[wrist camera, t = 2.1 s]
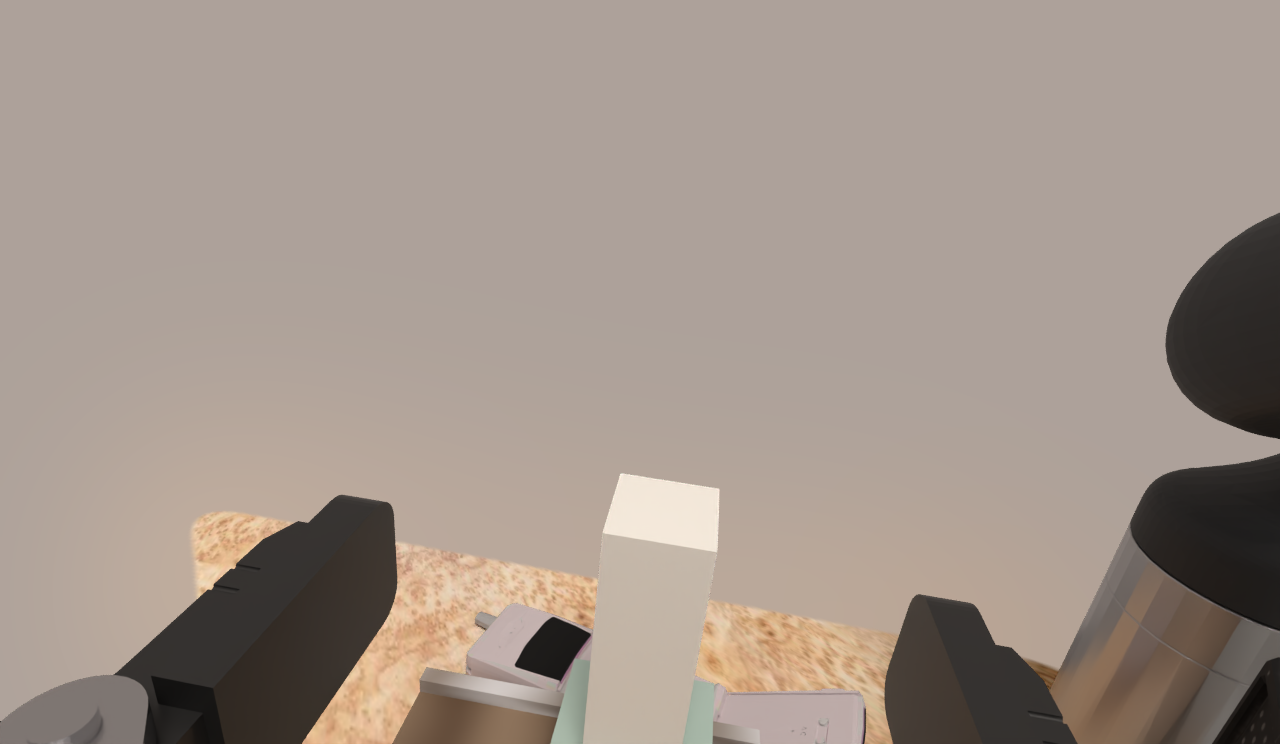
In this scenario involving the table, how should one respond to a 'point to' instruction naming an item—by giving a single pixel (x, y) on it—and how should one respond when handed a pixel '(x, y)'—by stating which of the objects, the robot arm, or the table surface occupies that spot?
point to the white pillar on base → (647, 621)
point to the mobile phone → (788, 720)
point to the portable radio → (1256, 711)
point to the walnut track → (500, 713)
